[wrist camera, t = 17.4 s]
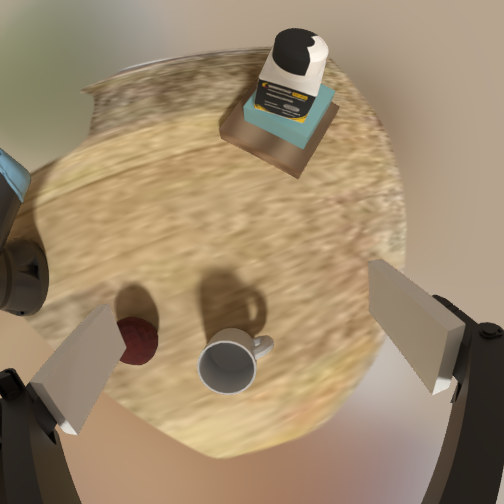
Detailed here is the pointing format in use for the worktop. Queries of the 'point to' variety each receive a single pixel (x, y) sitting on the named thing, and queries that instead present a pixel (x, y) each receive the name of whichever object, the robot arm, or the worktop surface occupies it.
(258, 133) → the tower base slab
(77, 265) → the worktop surface
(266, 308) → the worktop surface
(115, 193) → the worktop surface
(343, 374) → the worktop surface
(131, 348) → the dark red textured ball
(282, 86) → the medicine bottle
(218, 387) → the cup
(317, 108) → the tower top block
